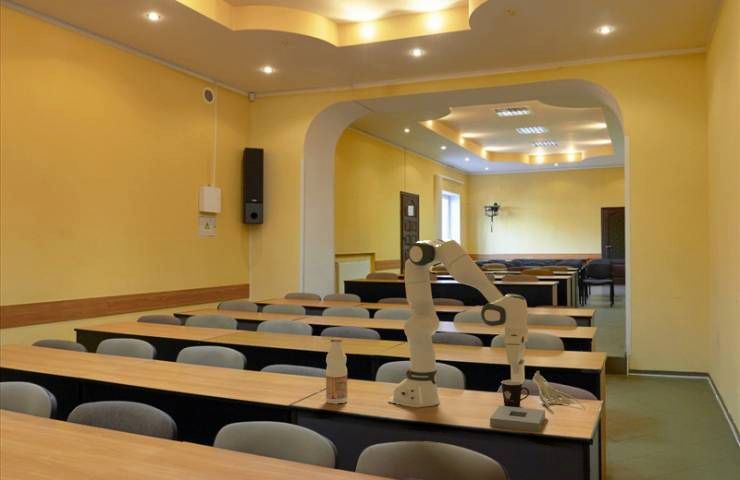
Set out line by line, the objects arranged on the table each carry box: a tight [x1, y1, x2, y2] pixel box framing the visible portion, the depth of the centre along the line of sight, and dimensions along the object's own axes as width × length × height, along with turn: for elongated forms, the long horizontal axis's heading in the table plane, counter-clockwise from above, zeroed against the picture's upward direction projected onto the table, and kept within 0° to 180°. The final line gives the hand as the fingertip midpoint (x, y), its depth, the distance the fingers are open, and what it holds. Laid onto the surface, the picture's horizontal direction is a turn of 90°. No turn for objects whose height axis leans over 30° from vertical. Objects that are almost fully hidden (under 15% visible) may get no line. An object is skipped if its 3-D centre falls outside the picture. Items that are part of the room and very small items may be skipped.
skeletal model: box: [532, 370, 586, 414], centre depth 246 cm, size 16×9×25 cm
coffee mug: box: [500, 379, 530, 408], centre depth 243 cm, size 12×9×10 cm
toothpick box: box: [510, 359, 526, 384], centre depth 222 cm, size 4×4×8 cm
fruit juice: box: [325, 337, 348, 405], centre depth 255 cm, size 9×9×28 cm
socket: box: [489, 405, 546, 433], centre depth 222 cm, size 18×18×3 cm
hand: (517, 371), depth 222 cm, fingers closed on toothpick box, 4 cm apart
